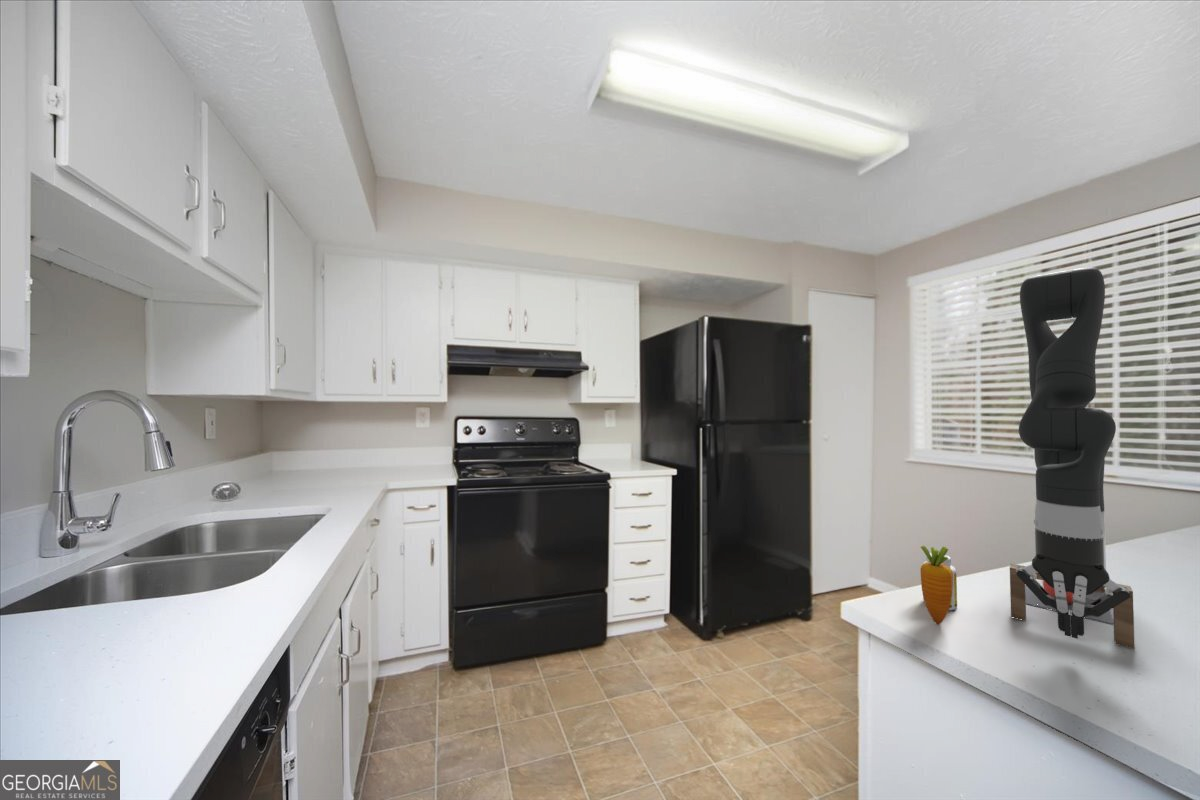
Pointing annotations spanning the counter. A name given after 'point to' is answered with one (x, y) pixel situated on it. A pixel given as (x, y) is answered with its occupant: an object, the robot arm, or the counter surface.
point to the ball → (1052, 592)
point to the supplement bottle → (954, 591)
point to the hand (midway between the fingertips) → (1070, 635)
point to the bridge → (1121, 612)
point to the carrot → (936, 584)
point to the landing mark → (1034, 600)
